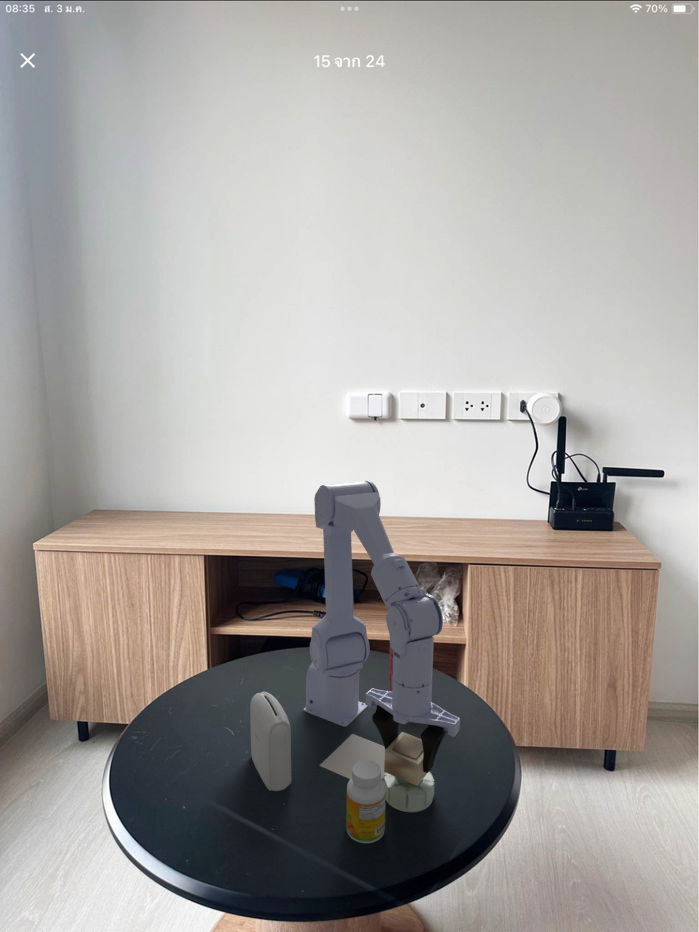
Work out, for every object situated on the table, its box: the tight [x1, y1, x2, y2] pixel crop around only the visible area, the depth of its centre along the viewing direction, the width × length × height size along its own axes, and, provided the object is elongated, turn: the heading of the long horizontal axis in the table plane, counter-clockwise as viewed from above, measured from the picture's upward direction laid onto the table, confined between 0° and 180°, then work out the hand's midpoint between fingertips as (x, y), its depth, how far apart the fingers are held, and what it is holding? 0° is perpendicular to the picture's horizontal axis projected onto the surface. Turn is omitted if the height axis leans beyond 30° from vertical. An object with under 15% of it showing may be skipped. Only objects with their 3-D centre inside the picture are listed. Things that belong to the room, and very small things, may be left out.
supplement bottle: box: [345, 760, 386, 844], centre depth 87 cm, size 5×5×10 cm
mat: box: [319, 733, 386, 780], centre depth 102 cm, size 10×10×1 cm
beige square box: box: [384, 731, 427, 786], centre depth 93 cm, size 6×6×4 cm
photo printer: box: [249, 691, 292, 792], centre depth 98 cm, size 10×4×12 cm, turn 26°
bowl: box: [383, 770, 435, 813], centre depth 94 cm, size 7×7×3 cm
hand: (409, 761), depth 93 cm, fingers closed on beige square box, 5 cm apart
